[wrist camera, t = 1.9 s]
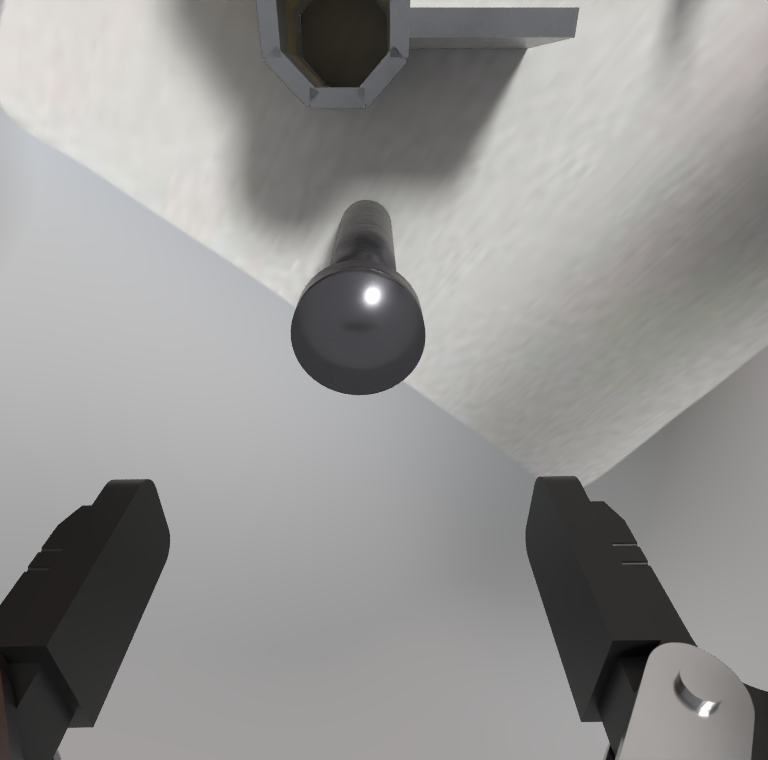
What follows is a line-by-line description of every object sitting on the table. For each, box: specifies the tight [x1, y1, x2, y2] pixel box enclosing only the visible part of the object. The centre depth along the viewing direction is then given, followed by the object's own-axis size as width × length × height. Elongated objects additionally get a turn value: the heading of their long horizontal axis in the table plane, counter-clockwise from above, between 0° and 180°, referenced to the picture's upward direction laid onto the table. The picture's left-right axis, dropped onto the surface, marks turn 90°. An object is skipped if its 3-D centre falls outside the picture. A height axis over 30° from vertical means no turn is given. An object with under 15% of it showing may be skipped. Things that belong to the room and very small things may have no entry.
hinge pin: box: [291, 200, 425, 395], centre depth 25 cm, size 5×5×16 cm
